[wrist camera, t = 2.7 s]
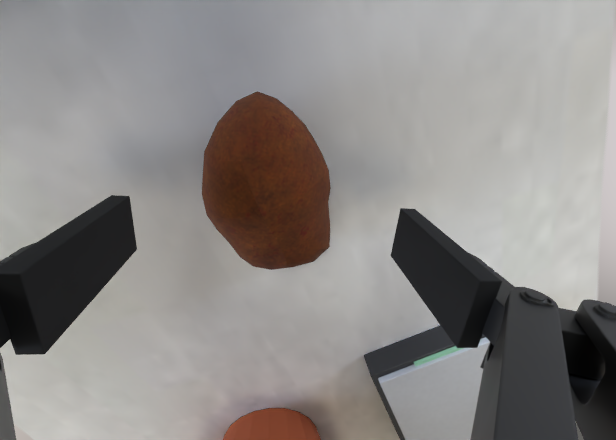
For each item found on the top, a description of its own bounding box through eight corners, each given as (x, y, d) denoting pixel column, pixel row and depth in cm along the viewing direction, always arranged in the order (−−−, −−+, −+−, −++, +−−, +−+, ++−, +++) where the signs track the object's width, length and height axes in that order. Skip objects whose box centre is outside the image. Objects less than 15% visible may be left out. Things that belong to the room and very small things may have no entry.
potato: (250, 261, 24) (241, 335, 17) (183, 117, 20) (131, 134, 13) (341, 231, 24) (371, 293, 17) (295, 78, 20) (308, 73, 12)
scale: (363, 354, 30) (372, 382, 27) (502, 301, 29) (526, 324, 26) (400, 435, 35) (411, 464, 33) (517, 392, 35) (538, 418, 32)
